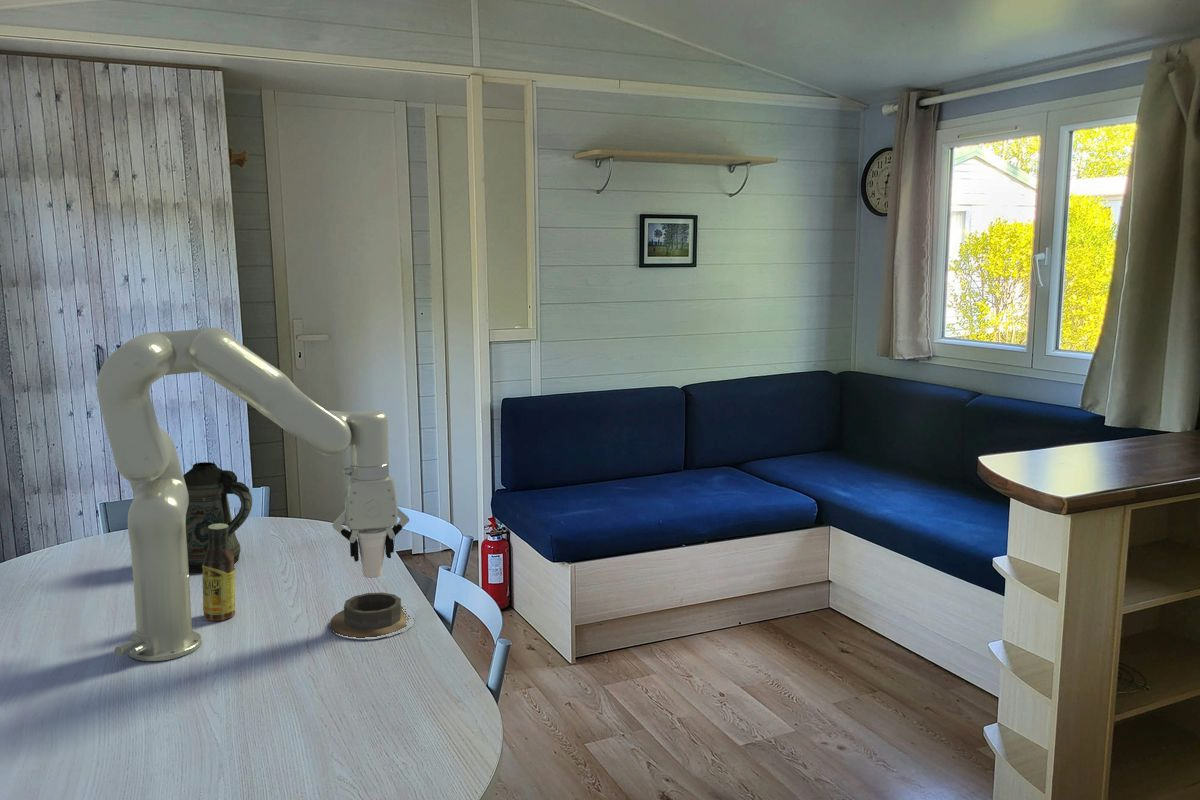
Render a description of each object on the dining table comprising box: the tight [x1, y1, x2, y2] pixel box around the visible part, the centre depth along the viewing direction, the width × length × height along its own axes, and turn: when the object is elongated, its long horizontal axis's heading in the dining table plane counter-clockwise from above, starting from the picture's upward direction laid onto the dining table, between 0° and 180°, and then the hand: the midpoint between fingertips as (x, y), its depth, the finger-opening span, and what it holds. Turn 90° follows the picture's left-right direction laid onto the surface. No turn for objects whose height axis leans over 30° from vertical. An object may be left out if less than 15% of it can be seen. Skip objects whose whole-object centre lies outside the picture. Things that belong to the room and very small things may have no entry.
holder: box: [329, 591, 414, 638], centre depth 184 cm, size 17×17×4 cm
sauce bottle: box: [201, 523, 236, 622], centre depth 185 cm, size 6×6×20 cm
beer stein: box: [183, 461, 253, 574], centre depth 219 cm, size 16×19×25 cm
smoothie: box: [357, 528, 388, 579], centre depth 182 cm, size 6×6×14 cm
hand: (372, 557), depth 183 cm, fingers closed on smoothie, 5 cm apart
